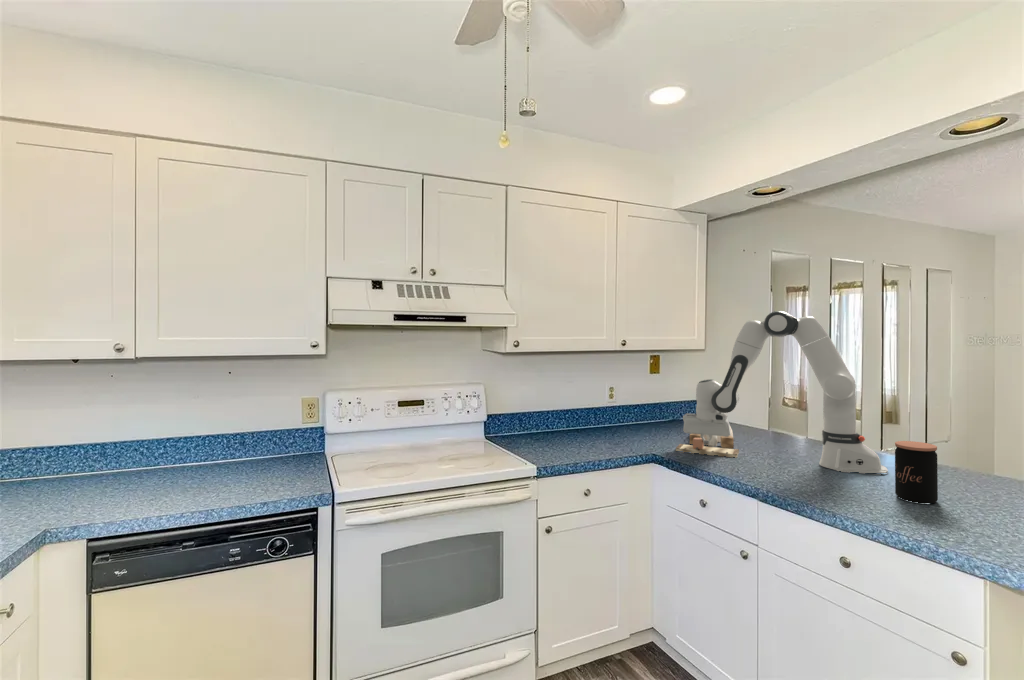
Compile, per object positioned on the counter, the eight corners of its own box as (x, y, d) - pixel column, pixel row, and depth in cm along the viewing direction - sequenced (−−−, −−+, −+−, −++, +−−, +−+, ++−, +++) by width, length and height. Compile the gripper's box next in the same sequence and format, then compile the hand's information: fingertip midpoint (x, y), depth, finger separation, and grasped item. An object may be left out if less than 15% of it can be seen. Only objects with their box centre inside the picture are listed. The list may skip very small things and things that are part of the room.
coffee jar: (886, 494, 162) (886, 441, 162) (916, 493, 163) (916, 440, 163) (915, 506, 151) (915, 448, 151) (947, 504, 152) (946, 447, 152)
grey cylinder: (718, 444, 238) (717, 432, 238) (716, 446, 234) (716, 434, 234) (707, 443, 241) (707, 431, 241) (705, 445, 236) (705, 433, 236)
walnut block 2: (731, 446, 235) (731, 436, 235) (733, 448, 230) (733, 438, 230) (720, 445, 236) (720, 435, 236) (722, 448, 231) (722, 437, 231)
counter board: (738, 452, 221) (738, 449, 221) (736, 457, 213) (736, 454, 213) (680, 447, 234) (679, 443, 234) (675, 451, 226) (675, 448, 226)
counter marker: (703, 446, 227) (703, 438, 227) (701, 450, 220) (701, 441, 220) (694, 446, 229) (694, 437, 229) (692, 449, 222) (691, 440, 222)
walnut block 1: (703, 444, 240) (703, 434, 240) (699, 446, 237) (699, 435, 236) (693, 442, 244) (693, 433, 244) (689, 444, 240) (689, 434, 240)
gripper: (681, 413, 226) (682, 443, 226) (729, 417, 216) (729, 447, 216) (684, 411, 231) (684, 440, 232) (730, 415, 221) (731, 445, 221)
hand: (706, 444), depth 224 cm, fingers closed
